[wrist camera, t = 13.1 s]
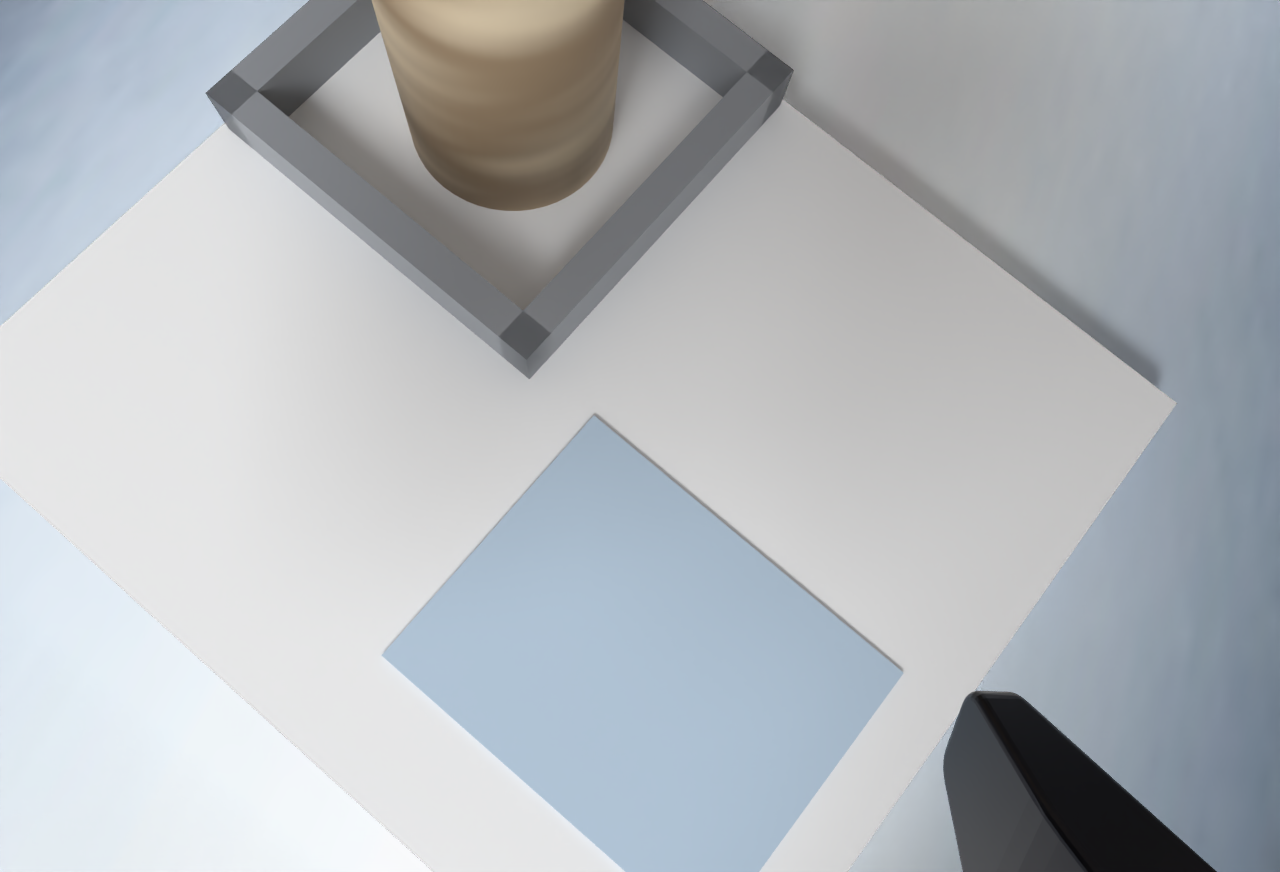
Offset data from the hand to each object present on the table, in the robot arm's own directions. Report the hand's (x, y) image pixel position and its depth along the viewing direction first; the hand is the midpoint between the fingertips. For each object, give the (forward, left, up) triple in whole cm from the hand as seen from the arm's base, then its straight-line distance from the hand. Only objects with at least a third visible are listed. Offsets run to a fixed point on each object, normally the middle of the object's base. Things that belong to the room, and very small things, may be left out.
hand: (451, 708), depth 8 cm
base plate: (+3, -5, -14) cm, 15 cm away
